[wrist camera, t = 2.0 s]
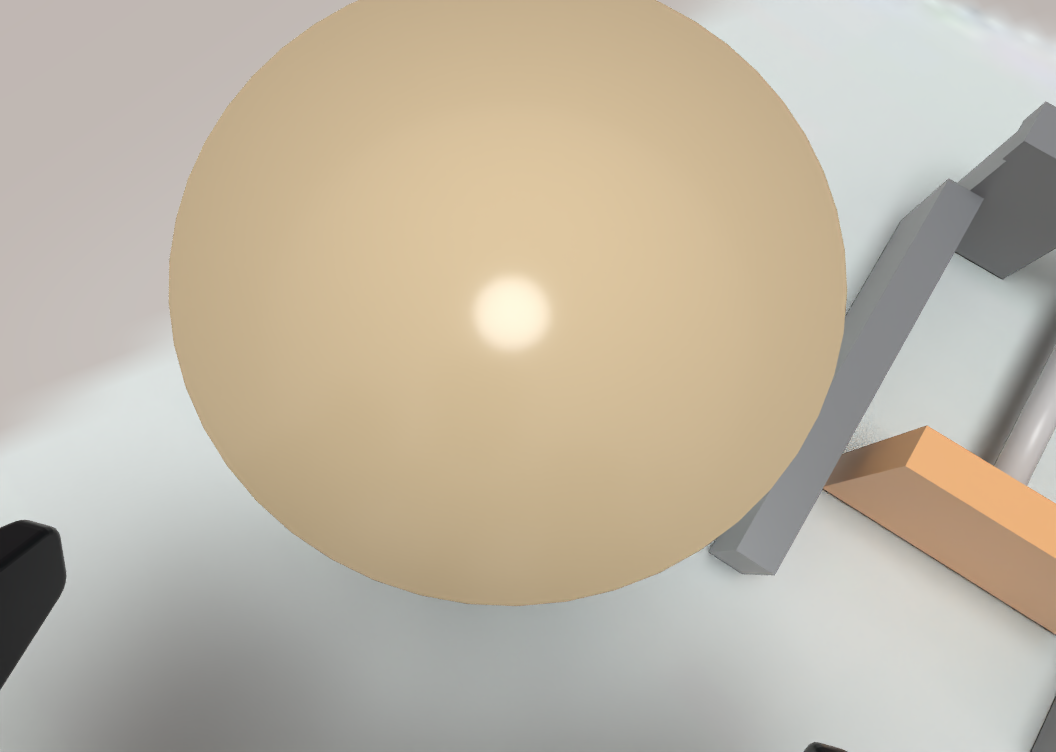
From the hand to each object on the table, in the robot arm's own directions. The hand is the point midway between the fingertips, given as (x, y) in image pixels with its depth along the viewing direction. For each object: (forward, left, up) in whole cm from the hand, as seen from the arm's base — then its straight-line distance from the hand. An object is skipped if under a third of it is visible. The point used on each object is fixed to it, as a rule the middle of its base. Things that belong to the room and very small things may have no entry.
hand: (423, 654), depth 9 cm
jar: (+4, 0, -11) cm, 12 cm away
